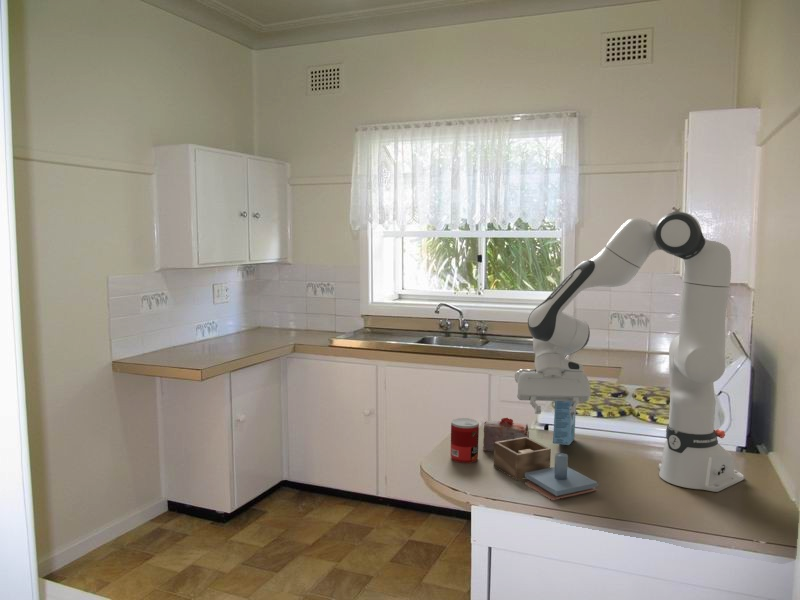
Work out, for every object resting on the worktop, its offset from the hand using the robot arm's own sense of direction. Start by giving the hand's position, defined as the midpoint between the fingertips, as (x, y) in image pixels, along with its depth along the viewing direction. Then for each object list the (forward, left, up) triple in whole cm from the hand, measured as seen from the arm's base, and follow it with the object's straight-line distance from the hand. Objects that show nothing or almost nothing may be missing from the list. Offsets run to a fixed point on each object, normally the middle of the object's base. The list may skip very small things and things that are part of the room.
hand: (555, 413), depth 179 cm
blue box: (-14, -13, -14) cm, 24 cm away
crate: (+8, -4, -16) cm, 19 cm away
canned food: (+18, -18, -17) cm, 30 cm away
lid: (+6, +10, -16) cm, 19 cm away
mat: (+6, +10, -16) cm, 20 cm away
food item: (+3, -19, -17) cm, 26 cm away
